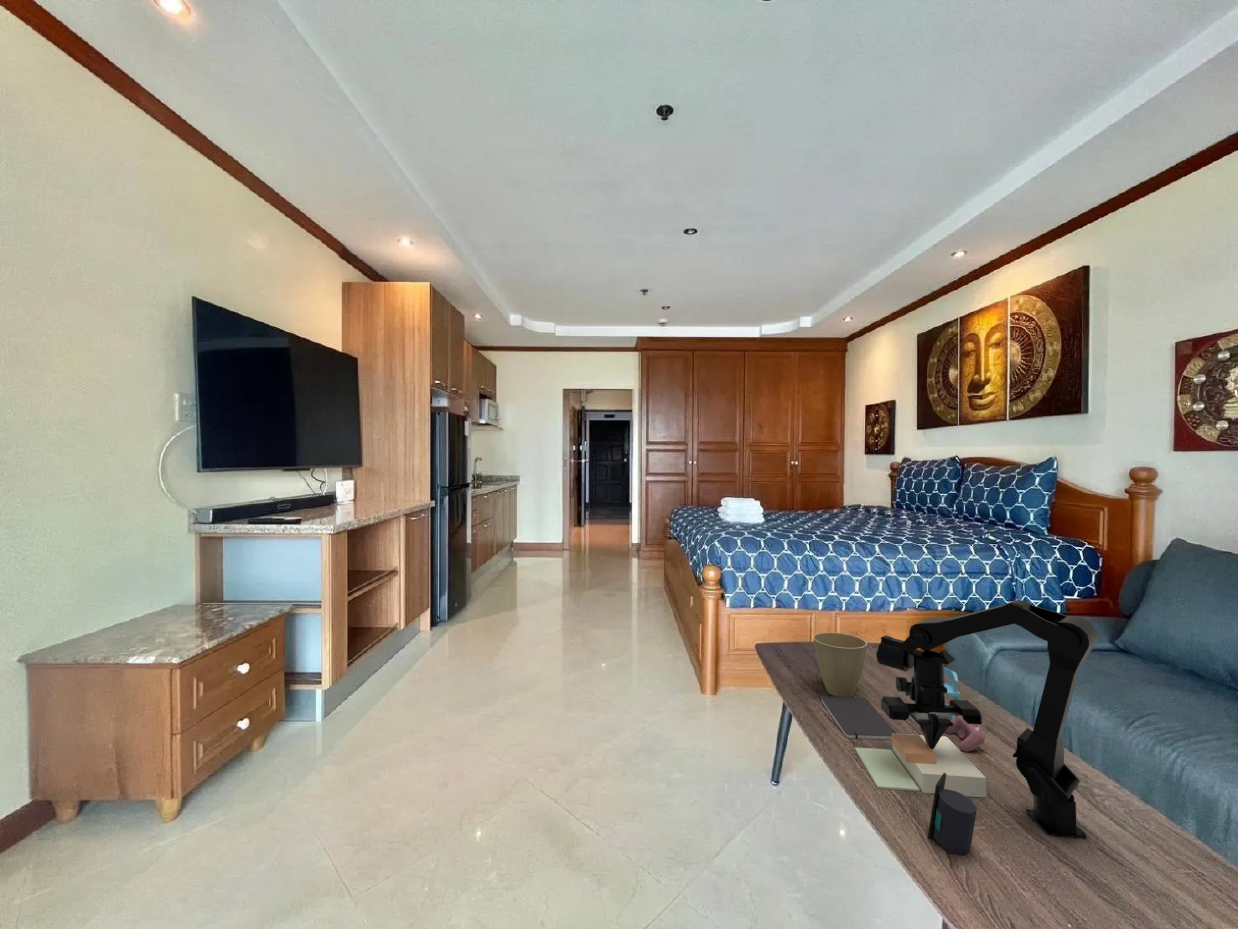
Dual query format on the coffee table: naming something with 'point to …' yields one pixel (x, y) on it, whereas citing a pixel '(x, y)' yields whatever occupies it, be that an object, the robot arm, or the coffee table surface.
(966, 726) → the video game controller
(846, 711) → the notebook
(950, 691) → the chair
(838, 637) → the plant pot
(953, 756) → the cream flat block
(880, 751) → the mat
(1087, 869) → the coffee table surface
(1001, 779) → the coffee table surface
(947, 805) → the speaker
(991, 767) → the coffee table surface
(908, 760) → the tile
